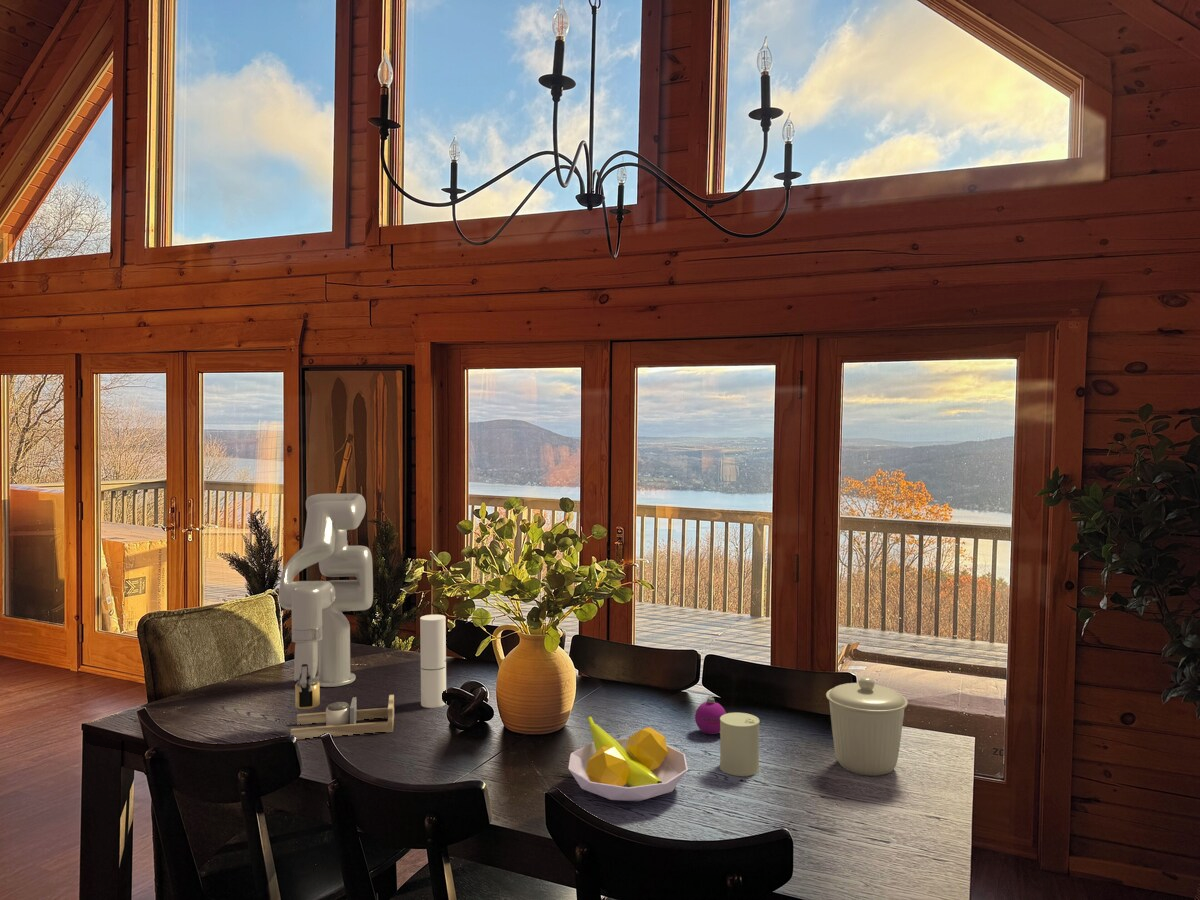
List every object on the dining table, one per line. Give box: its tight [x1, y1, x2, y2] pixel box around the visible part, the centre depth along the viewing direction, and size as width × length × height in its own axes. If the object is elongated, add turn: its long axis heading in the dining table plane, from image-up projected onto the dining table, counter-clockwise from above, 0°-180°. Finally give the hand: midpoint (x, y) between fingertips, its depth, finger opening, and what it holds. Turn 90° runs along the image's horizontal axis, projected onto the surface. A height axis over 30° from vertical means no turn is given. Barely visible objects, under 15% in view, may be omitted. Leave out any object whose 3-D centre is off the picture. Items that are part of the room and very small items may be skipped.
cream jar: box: [325, 701, 351, 726], centre depth 217 cm, size 6×6×6 cm
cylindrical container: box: [419, 614, 447, 709], centre depth 235 cm, size 7×7×25 cm
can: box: [719, 712, 760, 777], centre depth 191 cm, size 9×9×12 cm
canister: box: [825, 676, 909, 777], centre depth 191 cm, size 18×18×21 cm
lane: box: [290, 694, 395, 740], centre depth 217 cm, size 12×25×6 cm, turn 102°
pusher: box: [350, 696, 358, 724], centre depth 217 cm, size 9×1×6 cm, turn 12°
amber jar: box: [294, 679, 321, 710], centre depth 214 cm, size 6×6×6 cm
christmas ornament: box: [694, 694, 727, 735], centre depth 213 cm, size 8×8×10 cm
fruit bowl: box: [568, 716, 689, 802], centre depth 182 cm, size 28×27×11 cm
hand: (307, 701), depth 215 cm, fingers closed on amber jar, 6 cm apart
